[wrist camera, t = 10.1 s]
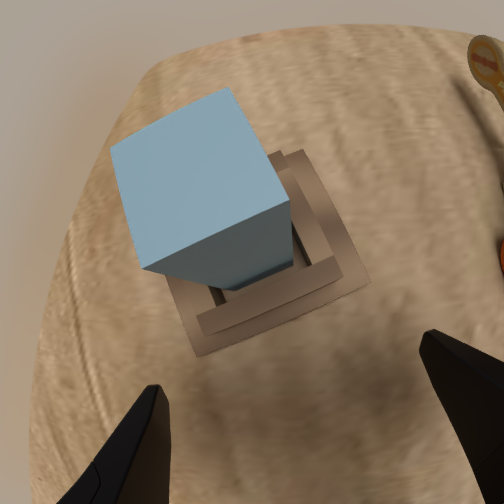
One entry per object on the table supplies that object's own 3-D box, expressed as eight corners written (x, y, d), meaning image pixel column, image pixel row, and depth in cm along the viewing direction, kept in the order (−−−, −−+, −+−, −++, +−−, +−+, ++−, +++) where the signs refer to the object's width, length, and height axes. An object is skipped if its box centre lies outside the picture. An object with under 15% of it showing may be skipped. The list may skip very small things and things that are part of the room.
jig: (367, 283, 19) (384, 277, 15) (201, 355, 20) (179, 365, 16) (302, 155, 21) (302, 125, 17) (153, 224, 22) (126, 208, 18)
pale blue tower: (293, 265, 19) (289, 199, 7) (234, 291, 19) (141, 268, 7) (267, 209, 20) (228, 86, 8) (211, 234, 20) (109, 148, 8)
